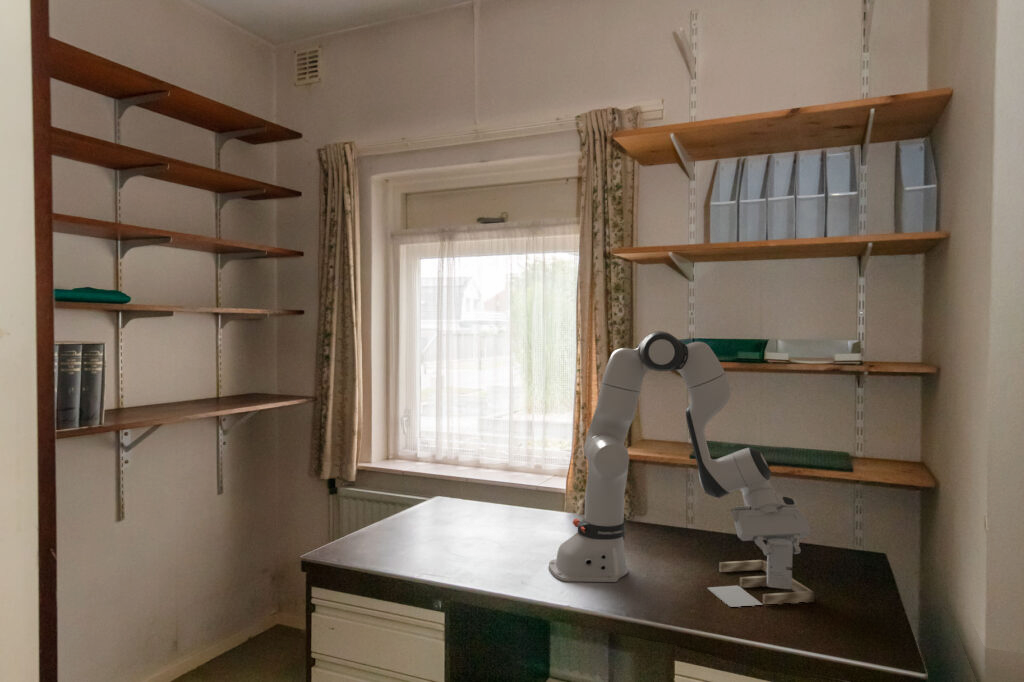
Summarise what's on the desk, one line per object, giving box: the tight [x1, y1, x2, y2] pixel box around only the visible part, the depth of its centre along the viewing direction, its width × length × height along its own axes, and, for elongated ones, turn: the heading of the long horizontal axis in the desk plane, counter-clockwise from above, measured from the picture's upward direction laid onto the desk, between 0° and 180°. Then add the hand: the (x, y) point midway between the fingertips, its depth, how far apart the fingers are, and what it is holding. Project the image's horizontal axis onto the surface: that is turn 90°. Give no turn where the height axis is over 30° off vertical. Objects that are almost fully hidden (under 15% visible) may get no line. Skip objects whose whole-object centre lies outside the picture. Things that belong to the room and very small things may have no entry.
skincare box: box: [766, 537, 793, 590], centre depth 176 cm, size 6×4×12 cm
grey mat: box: [706, 585, 764, 608], centre depth 174 cm, size 9×12×1 cm
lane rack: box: [718, 559, 815, 605], centre depth 182 cm, size 14×23×2 cm, turn 12°
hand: (782, 553), depth 175 cm, fingers closed on skincare box, 7 cm apart
